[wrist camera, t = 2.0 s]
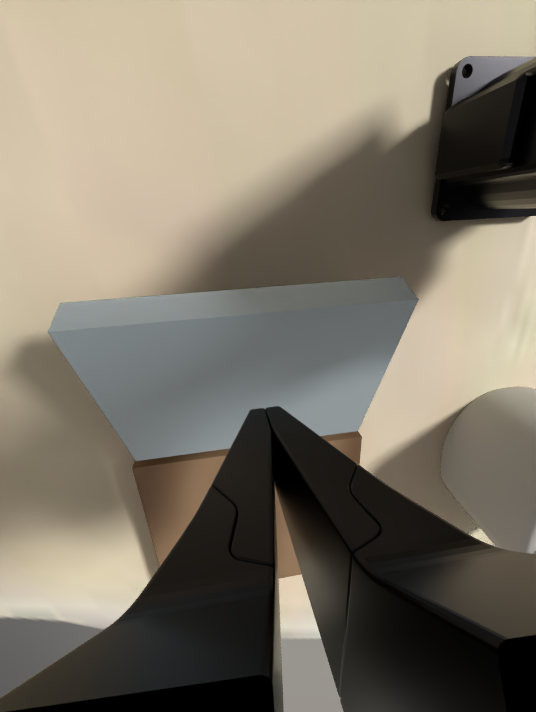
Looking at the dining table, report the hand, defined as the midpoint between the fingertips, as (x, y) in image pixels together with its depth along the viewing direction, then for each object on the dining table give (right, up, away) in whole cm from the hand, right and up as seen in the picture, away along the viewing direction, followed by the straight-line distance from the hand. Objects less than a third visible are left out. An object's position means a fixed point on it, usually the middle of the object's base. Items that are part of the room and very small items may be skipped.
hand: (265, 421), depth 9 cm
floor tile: (-1, +1, +7) cm, 7 cm away
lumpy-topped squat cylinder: (+18, -5, +16) cm, 25 cm away
